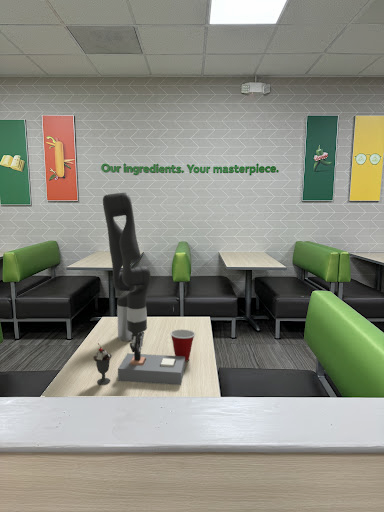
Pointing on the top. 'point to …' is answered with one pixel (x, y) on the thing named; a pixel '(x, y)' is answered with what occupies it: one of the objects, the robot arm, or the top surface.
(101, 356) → the sundae
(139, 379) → the key panel
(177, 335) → the plastic cup
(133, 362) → the terracotta key
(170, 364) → the ivory key
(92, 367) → the top surface
